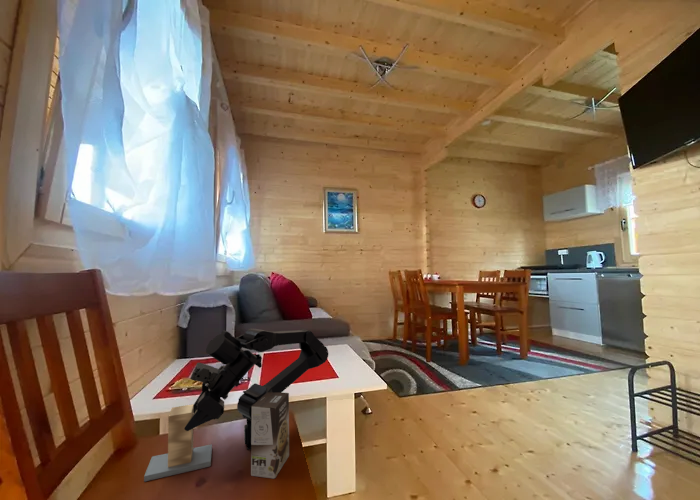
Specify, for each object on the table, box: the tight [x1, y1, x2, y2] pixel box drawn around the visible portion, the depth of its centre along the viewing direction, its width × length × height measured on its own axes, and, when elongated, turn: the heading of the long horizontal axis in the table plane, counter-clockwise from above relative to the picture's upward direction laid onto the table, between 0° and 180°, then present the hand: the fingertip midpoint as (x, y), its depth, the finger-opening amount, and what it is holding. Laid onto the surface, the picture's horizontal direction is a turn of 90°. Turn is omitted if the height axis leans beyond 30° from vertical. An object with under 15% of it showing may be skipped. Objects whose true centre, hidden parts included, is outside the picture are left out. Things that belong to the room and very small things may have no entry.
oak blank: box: [167, 403, 194, 467], centre depth 78 cm, size 5×5×12 cm
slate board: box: [143, 443, 213, 483], centre depth 78 cm, size 14×8×1 cm, turn 111°
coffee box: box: [250, 392, 290, 479], centre depth 77 cm, size 9×6×16 cm
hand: (188, 420), depth 79 cm, fingers open, 9 cm apart
